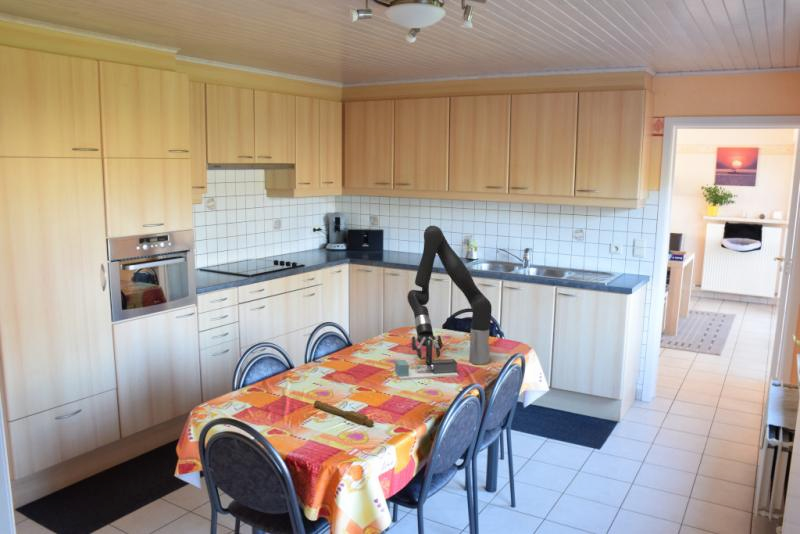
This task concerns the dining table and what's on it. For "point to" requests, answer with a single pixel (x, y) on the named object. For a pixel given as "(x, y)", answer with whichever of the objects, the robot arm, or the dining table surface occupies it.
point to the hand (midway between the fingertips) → (429, 356)
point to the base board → (425, 374)
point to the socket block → (401, 368)
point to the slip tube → (427, 358)
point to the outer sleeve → (444, 366)
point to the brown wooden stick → (345, 413)
